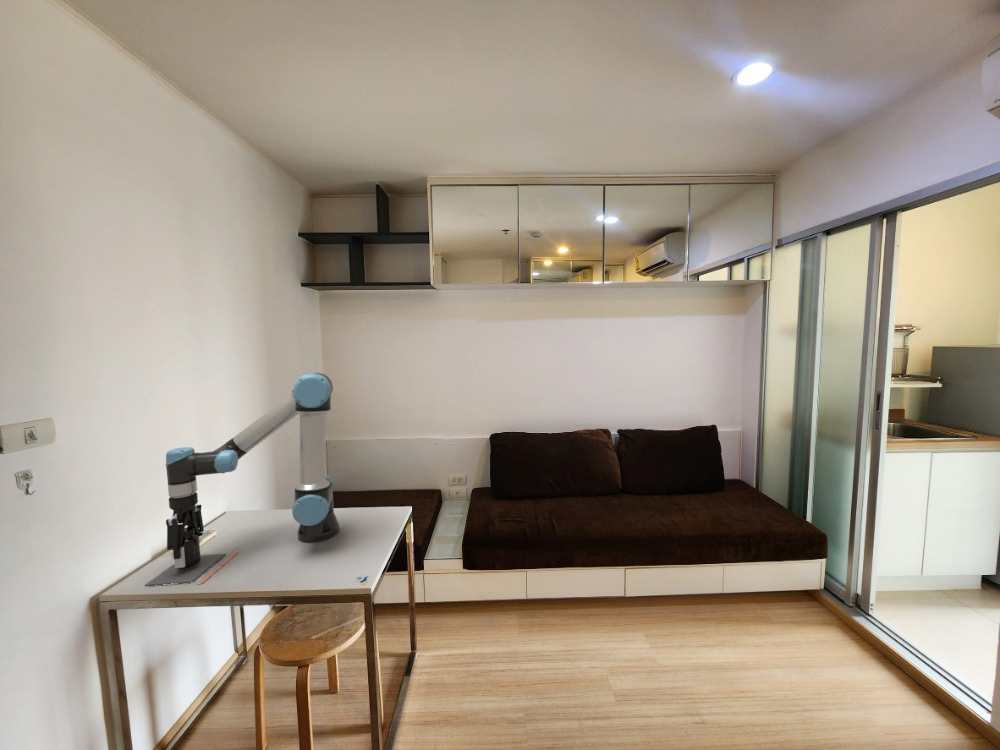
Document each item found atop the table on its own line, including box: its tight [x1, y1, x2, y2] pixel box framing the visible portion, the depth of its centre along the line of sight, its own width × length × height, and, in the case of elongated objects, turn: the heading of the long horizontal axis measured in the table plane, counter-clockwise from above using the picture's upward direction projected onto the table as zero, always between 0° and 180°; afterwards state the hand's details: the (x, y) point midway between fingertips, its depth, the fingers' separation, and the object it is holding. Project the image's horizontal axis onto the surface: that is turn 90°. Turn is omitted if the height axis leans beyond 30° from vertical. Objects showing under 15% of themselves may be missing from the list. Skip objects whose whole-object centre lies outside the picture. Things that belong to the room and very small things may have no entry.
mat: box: [144, 553, 227, 587], centre depth 135 cm, size 14×18×1 cm
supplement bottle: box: [178, 526, 201, 569], centre depth 134 cm, size 7×7×12 cm
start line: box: [197, 551, 239, 584], centre depth 136 cm, size 2×20×1 cm, turn 5°
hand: (188, 561), depth 135 cm, fingers closed on supplement bottle, 7 cm apart
